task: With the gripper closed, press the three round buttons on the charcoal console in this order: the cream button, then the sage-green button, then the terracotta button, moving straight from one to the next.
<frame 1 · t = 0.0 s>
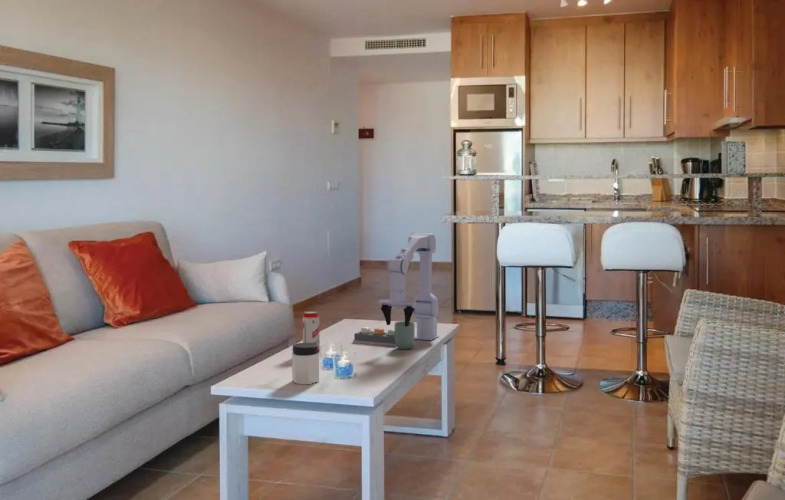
hand: (397, 325, 299), 10 cm above the table, tool pointing down, fingers open, 7 cm apart
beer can: (311, 354, 296), on the table
sage button: (392, 333, 314), point 4 cm above the table, slide at 0.0 cm
console: (379, 342, 317), on the table
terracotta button: (379, 332, 317), point 4 cm above the table, slide at 0.0 cm
cup: (404, 349, 305), on the table
jar: (305, 382, 255), on the table
cream button: (365, 331, 319), point 4 cm above the table, slide at 0.0 cm
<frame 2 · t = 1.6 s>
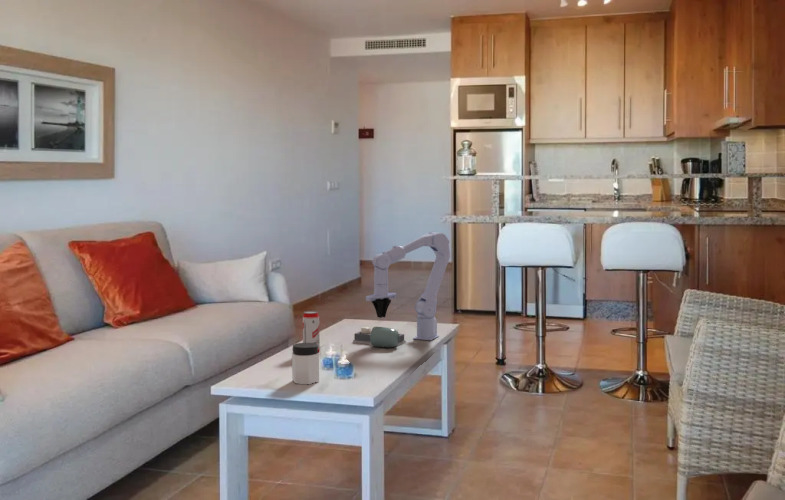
hand: (381, 317, 318), 10 cm above the table, tool pointing down, fingers closed
cup: (398, 338, 305), point 4 cm above the table, touching console
everything else where it was.
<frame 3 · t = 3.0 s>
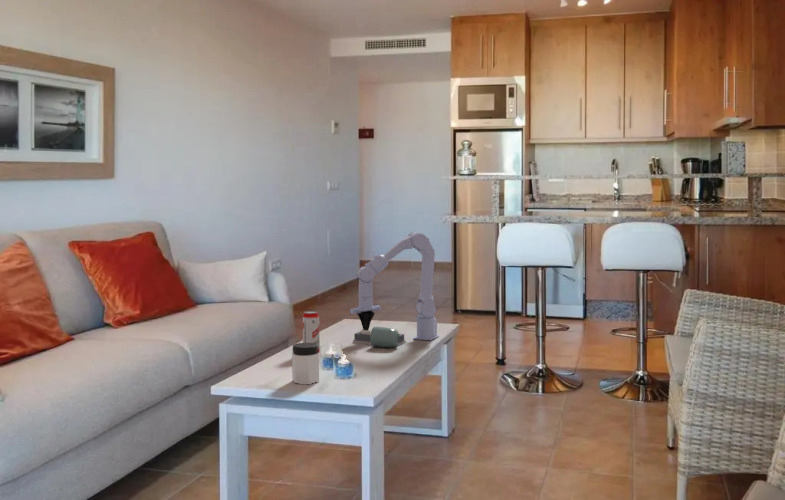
hand: (365, 329, 319), 5 cm above the table, tool pointing down, fingers closed, pressing on cream button
cream button: (365, 333, 319), point 3 cm above the table, slide at 0.7 cm, touching gripper
everything else where it was.
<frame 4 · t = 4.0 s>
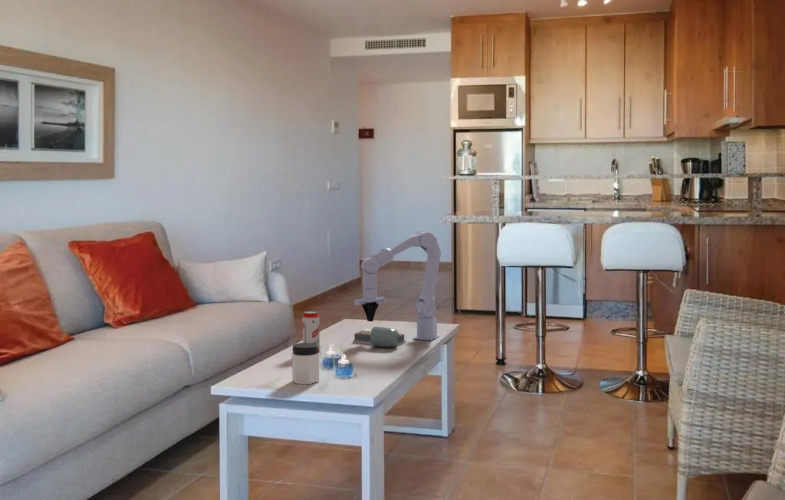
hand: (370, 321, 318), 8 cm above the table, tool pointing down, fingers closed
cream button: (365, 333, 319), point 3 cm above the table, slide at 0.9 cm
everything else where it was.
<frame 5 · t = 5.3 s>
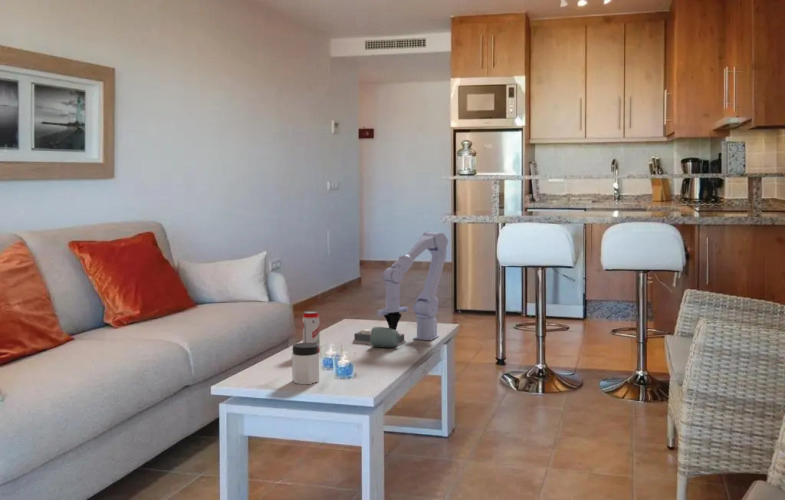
hand: (392, 331, 314), 5 cm above the table, tool pointing down, fingers closed, pressing on sage button
sage button: (392, 335, 314), point 3 cm above the table, slide at 0.5 cm, touching gripper
everything else where it was.
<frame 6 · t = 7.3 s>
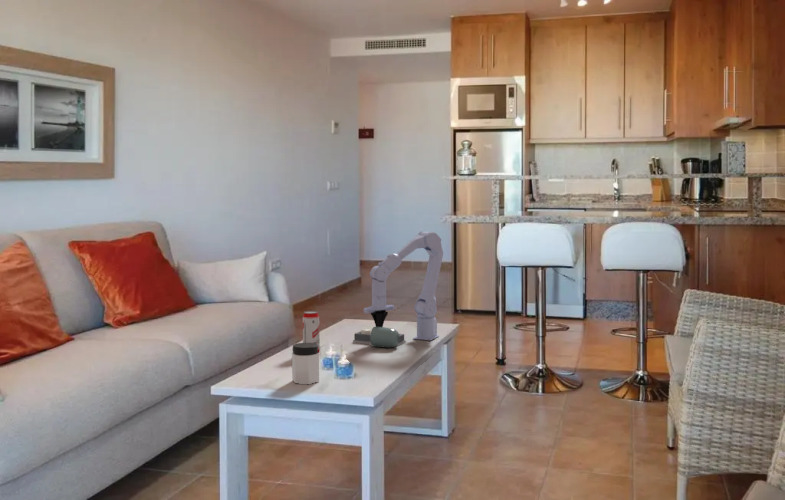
hand: (379, 329, 316), 5 cm above the table, tool pointing down, fingers closed, pressing on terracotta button
sage button: (392, 336, 314), point 3 cm above the table, slide at 0.9 cm
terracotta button: (379, 332, 317), point 4 cm above the table, slide at 0.1 cm, touching gripper
everything else where it was.
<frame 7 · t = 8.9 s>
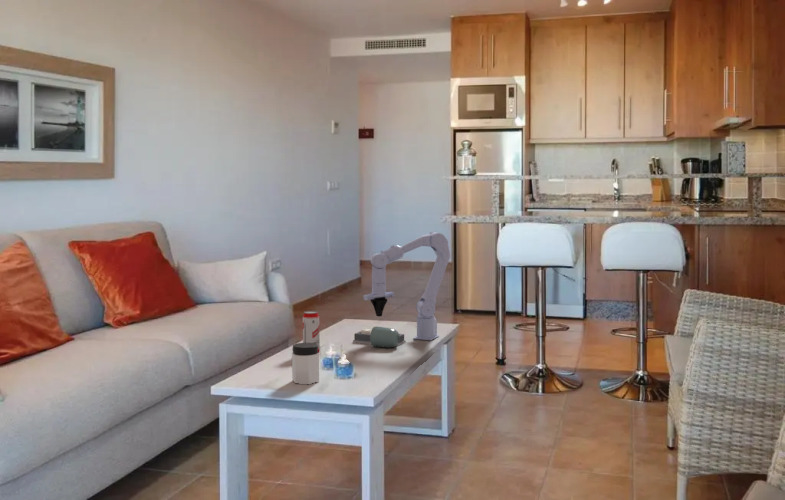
hand: (379, 316, 321), 10 cm above the table, tool pointing down, fingers closed
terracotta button: (379, 334, 317), point 3 cm above the table, slide at 0.9 cm
everything else where it was.
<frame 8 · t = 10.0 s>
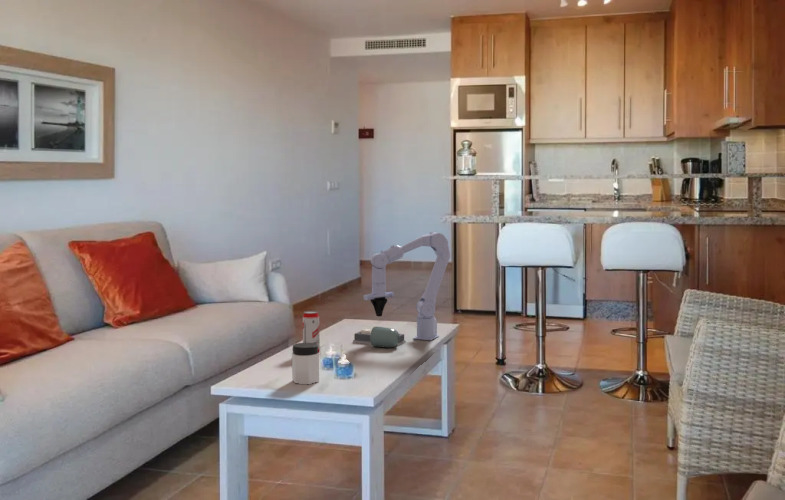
hand: (379, 316, 321), 10 cm above the table, tool pointing down, fingers closed
nothing on the table moved.
at the end: cream button slide at 0.9 cm; sage button slide at 0.9 cm; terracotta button slide at 0.9 cm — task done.
